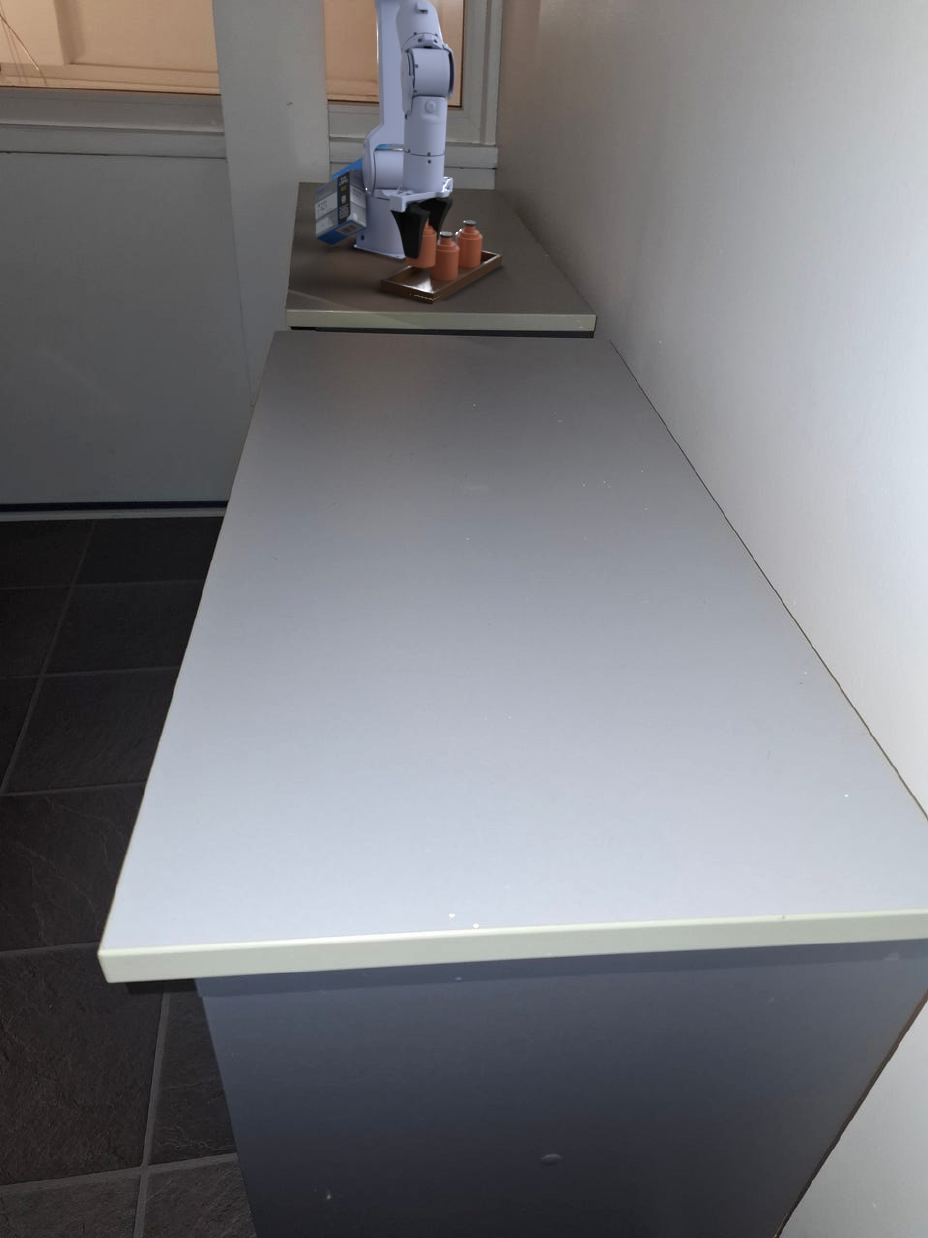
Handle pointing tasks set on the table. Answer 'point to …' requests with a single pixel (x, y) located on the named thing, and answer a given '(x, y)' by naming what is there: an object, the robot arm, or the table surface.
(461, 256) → the bottle back
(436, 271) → the bottle middle
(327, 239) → the ink cartridge box
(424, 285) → the tray
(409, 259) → the loose bottle
